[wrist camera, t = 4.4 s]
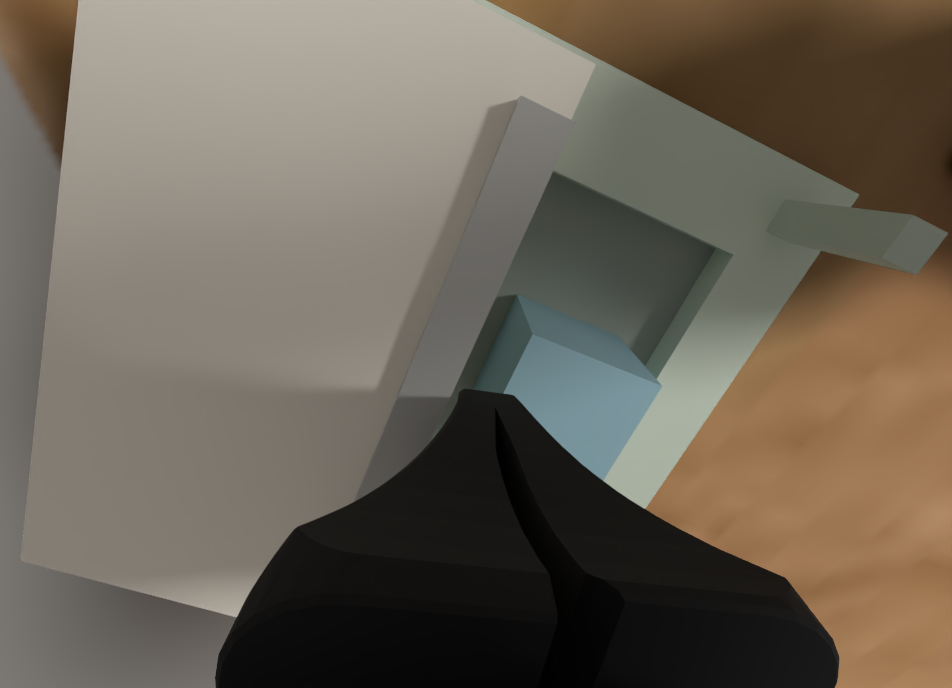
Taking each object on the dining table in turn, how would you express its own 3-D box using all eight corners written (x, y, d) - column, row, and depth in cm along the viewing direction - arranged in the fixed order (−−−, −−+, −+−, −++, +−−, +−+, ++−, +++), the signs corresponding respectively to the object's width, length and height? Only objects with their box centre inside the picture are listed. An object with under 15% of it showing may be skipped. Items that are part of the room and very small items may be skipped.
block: (618, 336, 17) (662, 386, 13) (567, 425, 18) (594, 494, 14) (516, 294, 16) (532, 334, 12) (471, 390, 17) (473, 453, 14)
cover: (584, 72, 9) (604, 57, 7) (342, 616, 14) (330, 661, 12) (136, -157, 7) (71, -220, 6) (47, 536, 12) (1, 577, 11)
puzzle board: (826, 191, 15) (1016, 207, 10) (573, 575, 21) (610, 713, 16) (321, -68, 13) (218, -233, 7) (191, 456, 18) (82, 575, 13)
